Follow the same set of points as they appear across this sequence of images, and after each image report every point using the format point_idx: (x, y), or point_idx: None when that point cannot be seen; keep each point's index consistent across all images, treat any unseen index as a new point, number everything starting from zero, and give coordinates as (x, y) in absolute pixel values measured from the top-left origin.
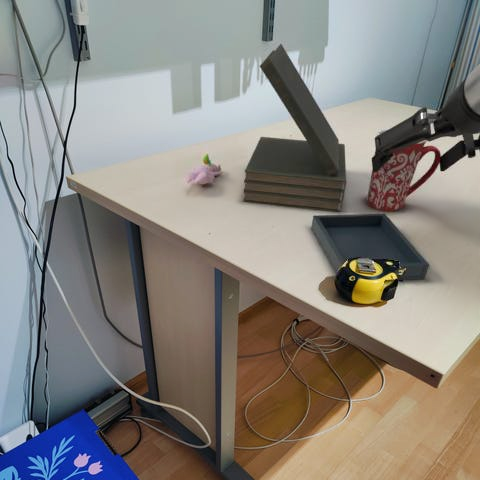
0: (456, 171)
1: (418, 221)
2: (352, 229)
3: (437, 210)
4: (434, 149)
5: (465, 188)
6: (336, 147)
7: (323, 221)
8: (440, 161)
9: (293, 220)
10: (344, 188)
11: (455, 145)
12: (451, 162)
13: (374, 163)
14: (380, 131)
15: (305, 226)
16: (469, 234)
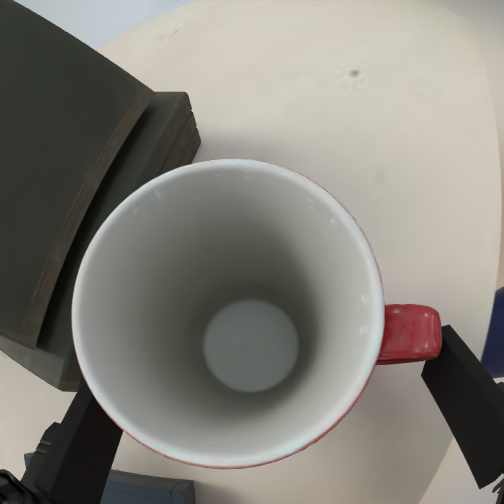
0: (472, 148)
1: (313, 455)
2: (110, 493)
3: (396, 380)
4: (415, 357)
5: (486, 232)
6: (94, 166)
7: None
8: None
9: (21, 408)
10: (72, 391)
11: (496, 420)
12: (452, 429)
13: None
14: (120, 210)
15: (35, 438)
16: (411, 499)
